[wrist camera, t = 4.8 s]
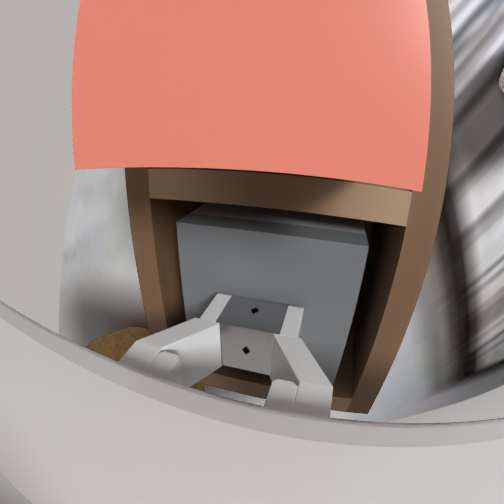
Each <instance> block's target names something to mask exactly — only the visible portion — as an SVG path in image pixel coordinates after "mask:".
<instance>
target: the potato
mask: <svg viewBox="0 0 504 504" xmlns="http://www.w3.org/2000/svg"><path fill="white" fill-rule="evenodd" d="M148 336H150V331H149V330H148V329H146V328H140V327H127V328H124V329H120V330H118V331H115V332H113V333H110V334H108V335H106V336H103V337H100V338H97V339H94V340H92V341H91V342H90V344H89V345H88V346H87V347H86V348H88V349H90V350H92V351H94V352H96V353H99V354H101V355H103V356H106V357H108V358H110V359H113V360H115V361H117V362H118V361H119V360H120V359H121V358H122V357H123V356H124V354H125V353H126V352H127V351H128V350H129V349H130V348H131V346H132V345H133V344H134V343H135V342H136V341H137V340H140V339H142V338H145V337H148ZM190 388H193V389H197V390H200V391H203V392H205V390H204V386H203V383H199V382H197V383H195V384H194V385H192V386H191V387H190Z"/></svg>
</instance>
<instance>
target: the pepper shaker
mask: <svg viewBox="0 0 504 504" xmlns="http://www.w3.org/2000/svg"><path fill="white" fill-rule="evenodd" d="M499 87H500V89H501V90H502V92H503V93H504V69H503V71H502V74H501V76H500V78H499Z"/></svg>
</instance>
